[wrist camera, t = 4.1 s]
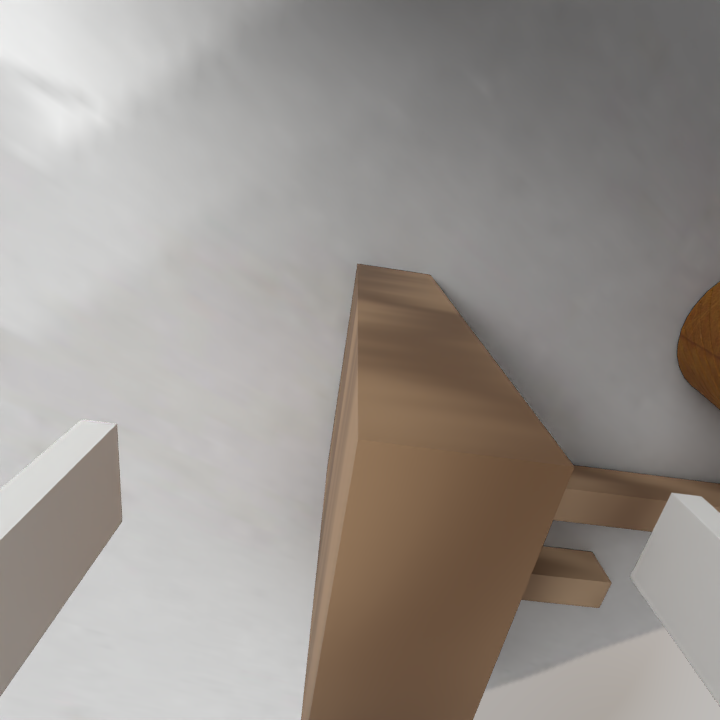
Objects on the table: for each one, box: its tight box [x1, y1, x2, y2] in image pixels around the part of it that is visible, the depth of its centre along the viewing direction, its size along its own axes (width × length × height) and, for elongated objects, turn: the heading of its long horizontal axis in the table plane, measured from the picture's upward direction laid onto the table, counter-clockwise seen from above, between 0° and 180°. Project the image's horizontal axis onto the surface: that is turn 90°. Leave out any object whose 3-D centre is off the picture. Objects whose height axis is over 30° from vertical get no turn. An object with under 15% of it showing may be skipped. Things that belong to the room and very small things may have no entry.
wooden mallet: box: [521, 546, 611, 608], centre depth 18 cm, size 13×7×13 cm, turn 81°
